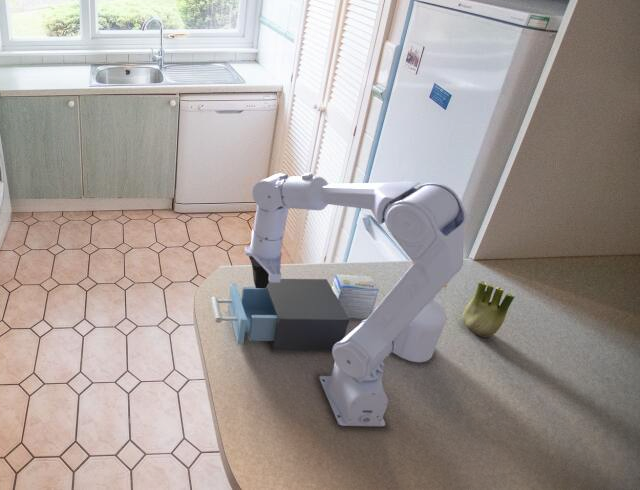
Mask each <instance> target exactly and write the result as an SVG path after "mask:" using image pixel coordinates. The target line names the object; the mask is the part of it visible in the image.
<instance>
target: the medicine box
mask: <svg viewBox="0 0 640 490" xmlns="http://www.w3.org/2000/svg"><path fill="white" fill-rule="evenodd" d="M331 288H332V290H333V291H334V293H335V295H336V297H337V299H338V300H339V302H340V304H341V306H342V307H343V309H344V311H345V313H346V315H347V316H348V318H349V319H359V320H360V319H361V320H366V319H367V318H368V317H369V316H370V315H371V314H372V312H373V311H374V310H375V305H376V302H377V299H378V296H379V293H380V289H379V288H378V286H377V284H376V283H375V281H374V279H373V278H372V276H364V275H349V274H335V275H334V278H333V282H332V286H331Z"/></svg>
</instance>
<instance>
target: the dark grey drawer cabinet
mask: <svg viewBox="0 0 640 490" xmlns="http://www.w3.org/2000/svg"><path fill="white" fill-rule="evenodd" d="M266 288H267V291H268V294H269V296H270V299H271V302H272V304H273V307H274V309H275V312H276V315H277V317H278V322H277V327H276V332H275V338H274V341H270V344H271V347H272V350H273V351H281V352H282V351H286V352H287V351H289V352H332V348H333V346H334V345H335V344H336V343H337V342H340V341H341V340H342V339H343V338H345V337H346V335H347V330H348V327H349V323H350V318H348V316H347V315H346V313H345V311H344V309H343V307H342V306H341V304H340V302H339V300H338V299H337V297H336V295H335V293H334V291H333V290H332V286H331V285H330V283H329V280H327V278H281V281H280V283H270V282H269V283H268V285H267V287H266Z"/></svg>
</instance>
